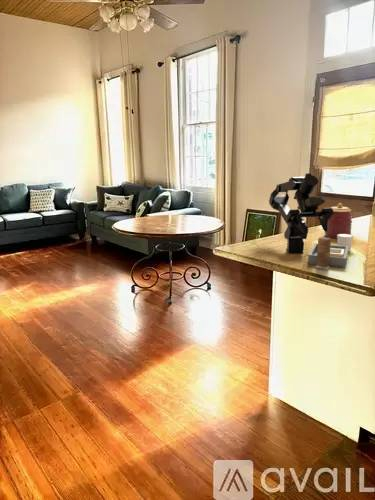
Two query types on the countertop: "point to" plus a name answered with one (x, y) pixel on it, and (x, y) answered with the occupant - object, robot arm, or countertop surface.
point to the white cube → (345, 240)
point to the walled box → (331, 256)
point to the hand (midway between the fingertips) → (315, 232)
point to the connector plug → (323, 253)
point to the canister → (339, 221)
